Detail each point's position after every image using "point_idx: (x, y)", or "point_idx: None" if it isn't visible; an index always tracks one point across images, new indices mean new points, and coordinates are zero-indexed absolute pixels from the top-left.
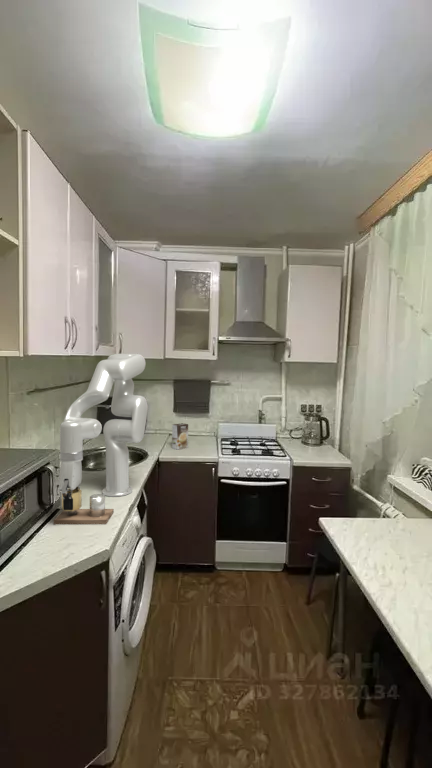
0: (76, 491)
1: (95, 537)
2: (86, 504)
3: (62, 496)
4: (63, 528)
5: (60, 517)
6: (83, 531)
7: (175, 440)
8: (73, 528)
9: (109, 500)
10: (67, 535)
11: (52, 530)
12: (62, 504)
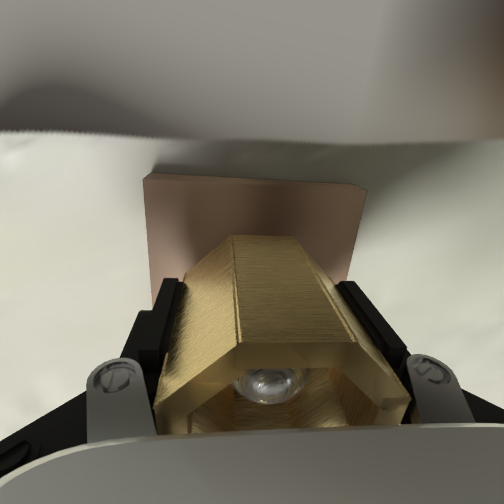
0: (351, 423)
1: (17, 424)
2: (468, 278)
3: (221, 316)
4: (94, 258)
5: (195, 215)
6: (72, 365)
7: None
8: (102, 311)
9: (482, 372)
10: (3, 309)
11: (52, 200)
12: (220, 263)
